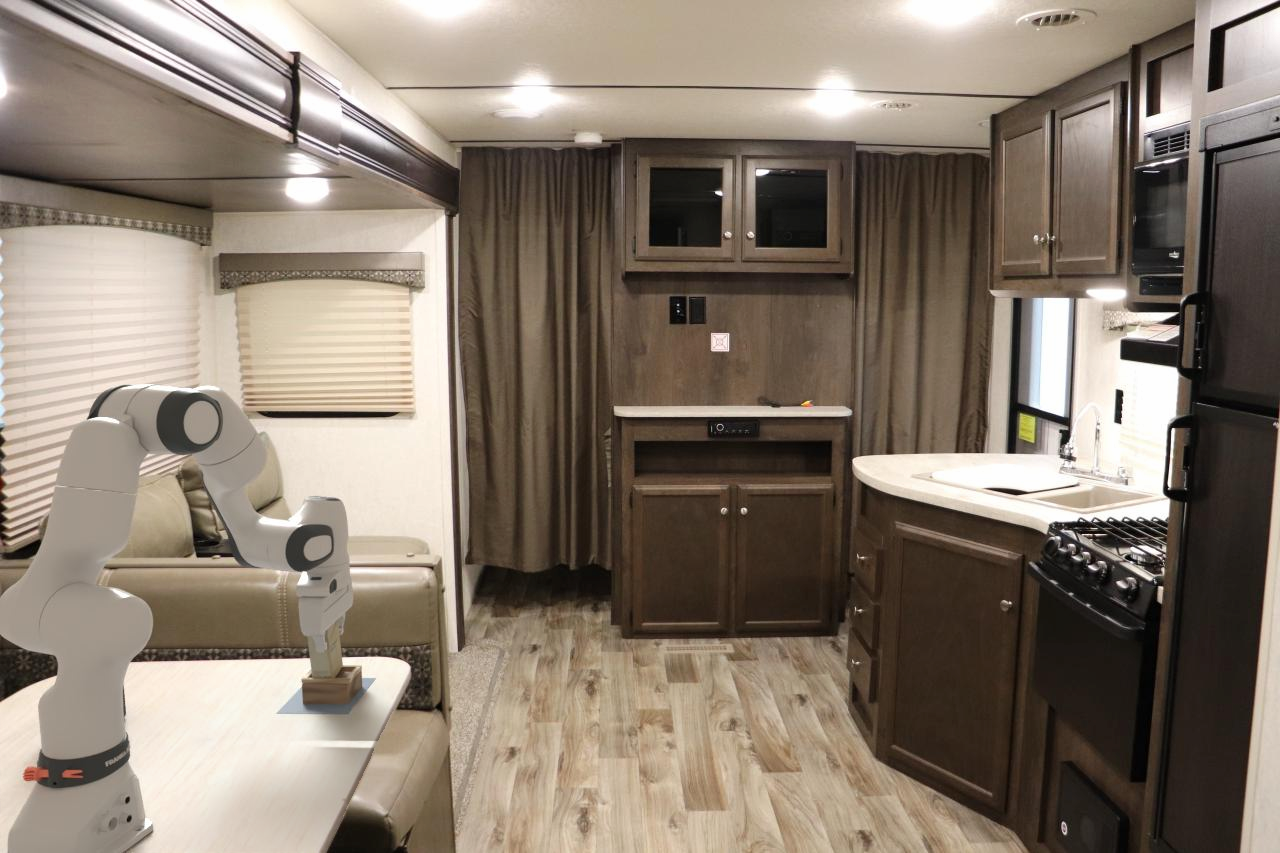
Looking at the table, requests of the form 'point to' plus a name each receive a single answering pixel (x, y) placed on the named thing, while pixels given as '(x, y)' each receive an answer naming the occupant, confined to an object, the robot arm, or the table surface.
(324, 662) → the skincare box
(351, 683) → the walnut tray
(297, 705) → the blue board
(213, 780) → the table surface
